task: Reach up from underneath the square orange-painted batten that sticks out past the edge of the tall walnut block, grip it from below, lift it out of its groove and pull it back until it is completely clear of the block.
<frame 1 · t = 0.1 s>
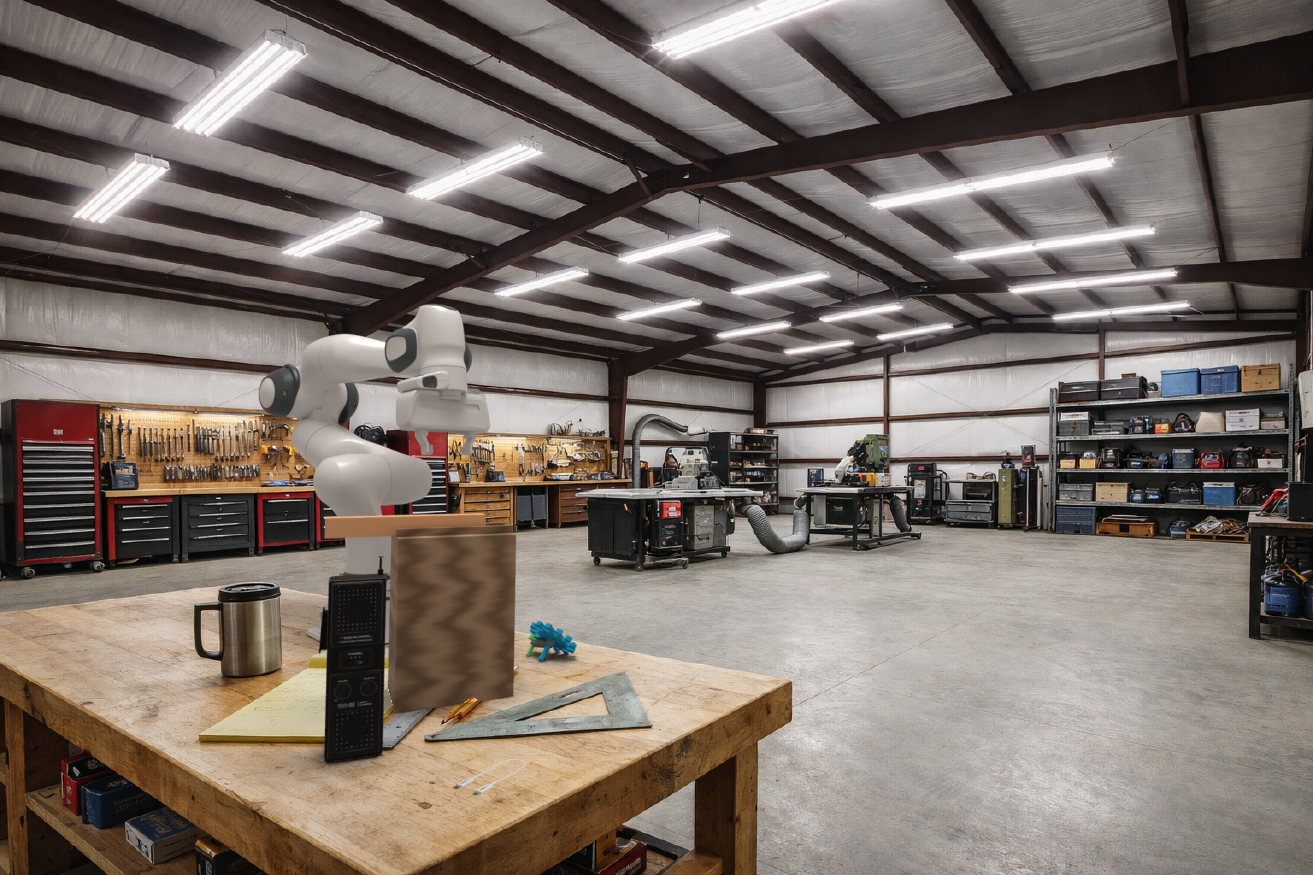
hand: (447, 454, 135), 39 cm above the workbench, tool pointing down, fingers open, 8 cm apart
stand: (449, 692, 112), on the workbench
electronic cable: (494, 778, 83), on the workbench
portable radio: (349, 754, 89), on the workbench
blue toy creature: (550, 658, 134), on the workbench
batten: (407, 534, 110), point 26 cm above the workbench, touching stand
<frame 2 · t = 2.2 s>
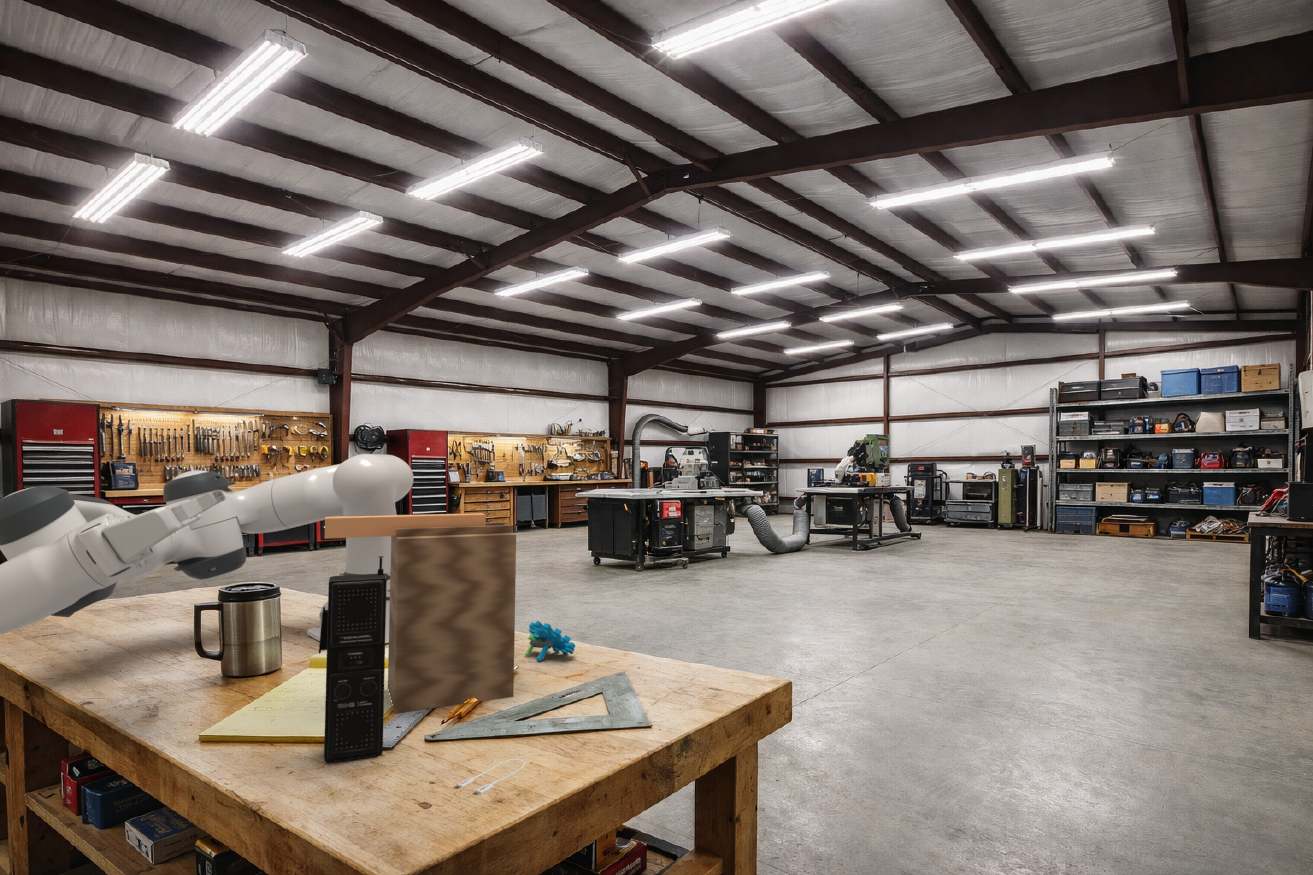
hand: (218, 495, 99), 32 cm above the workbench, tool pointing upward, fingers open, 8 cm apart
nothing on the workbench moved.
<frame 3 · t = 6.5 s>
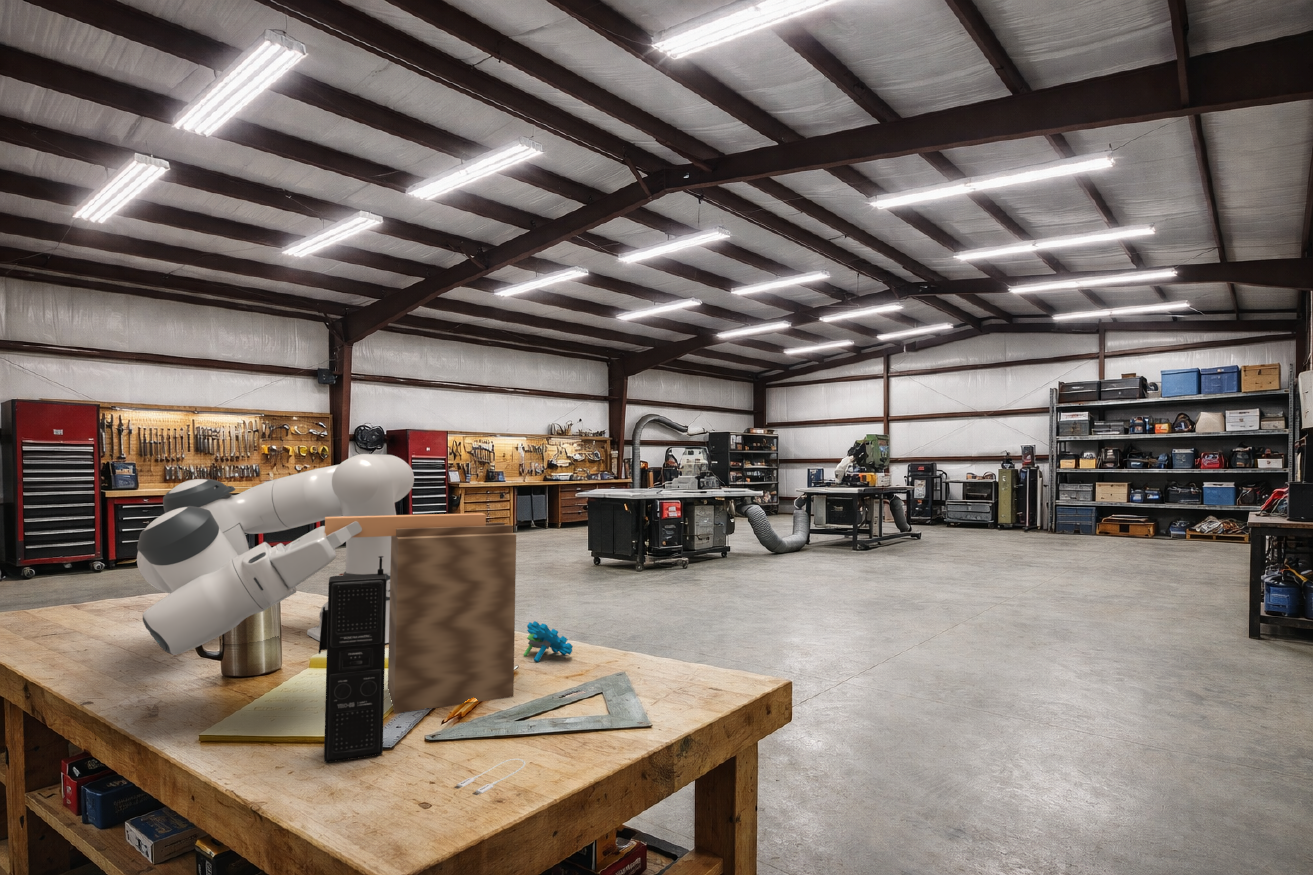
hand: (359, 523, 107), 28 cm above the workbench, tool pointing upward, fingers closed on batten, 3 cm apart
batten: (407, 534, 110), point 26 cm above the workbench, touching gripper
everything else where it was.
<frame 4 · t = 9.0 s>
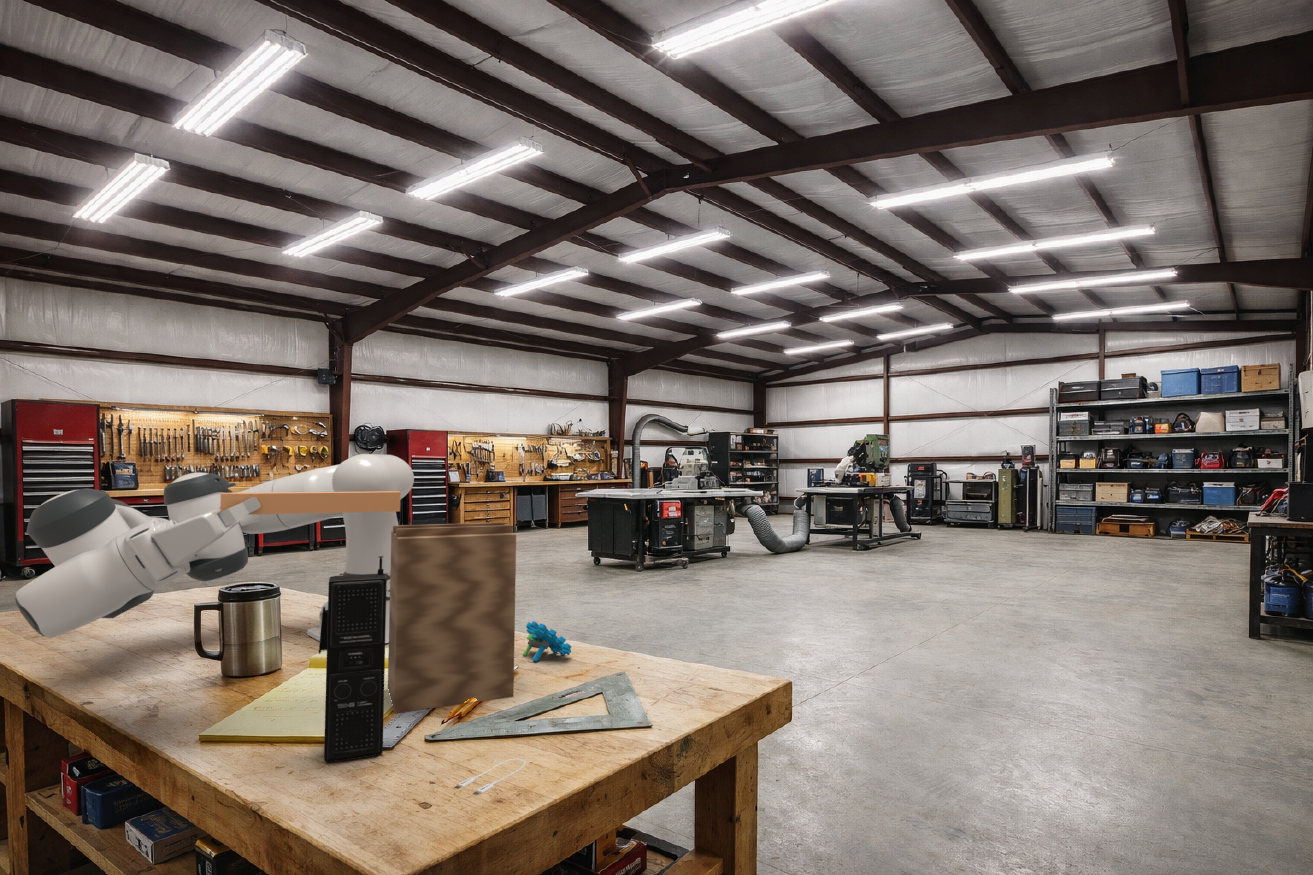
hand: (260, 500, 101), 32 cm above the workbench, tool pointing upward, fingers closed on batten, 3 cm apart
batten: (314, 512, 104), point 30 cm above the workbench, touching gripper
everything else where it was.
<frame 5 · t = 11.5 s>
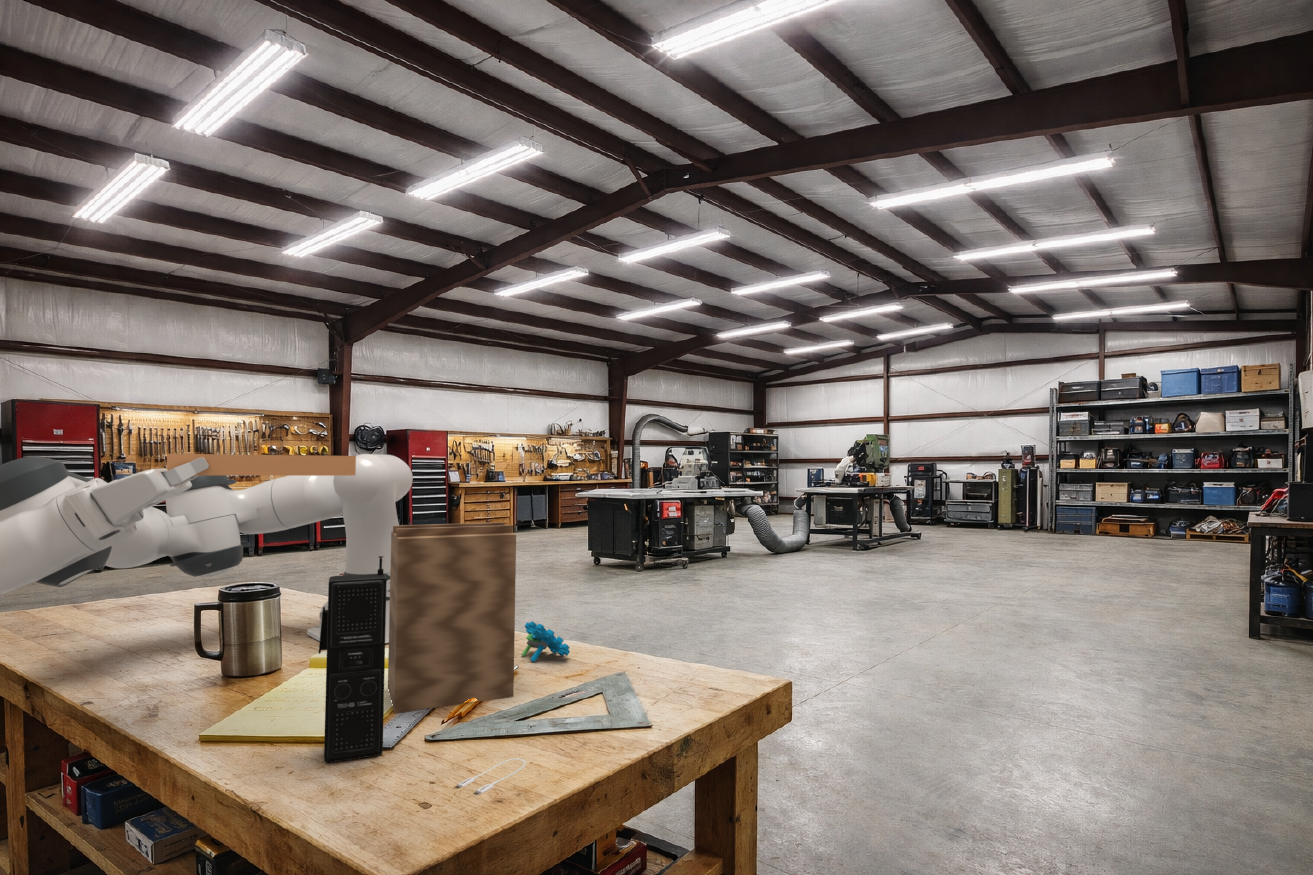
hand: (209, 461, 99), 37 cm above the workbench, tool pointing upward, fingers closed on batten, 3 cm apart
batten: (266, 475, 102), point 35 cm above the workbench, touching gripper
at the end: batten moved 22.1 cm from its start; batten point 35.5 cm above the workbench; batten touching gripper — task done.
